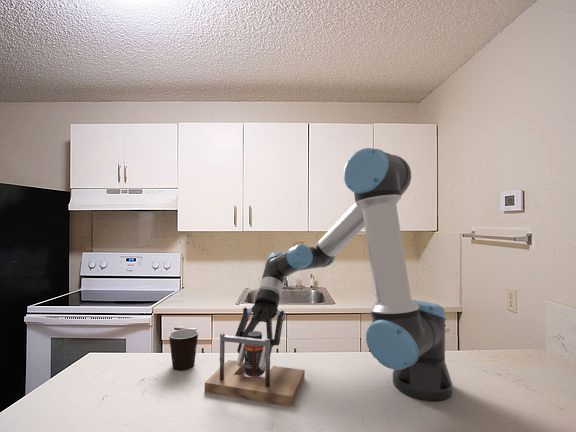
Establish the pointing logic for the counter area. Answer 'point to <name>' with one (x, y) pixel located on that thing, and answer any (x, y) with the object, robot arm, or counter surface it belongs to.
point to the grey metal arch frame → (245, 340)
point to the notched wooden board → (257, 384)
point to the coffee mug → (183, 348)
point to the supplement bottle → (253, 356)
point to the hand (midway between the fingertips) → (250, 366)
